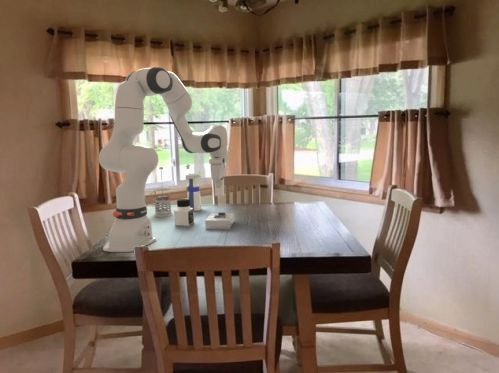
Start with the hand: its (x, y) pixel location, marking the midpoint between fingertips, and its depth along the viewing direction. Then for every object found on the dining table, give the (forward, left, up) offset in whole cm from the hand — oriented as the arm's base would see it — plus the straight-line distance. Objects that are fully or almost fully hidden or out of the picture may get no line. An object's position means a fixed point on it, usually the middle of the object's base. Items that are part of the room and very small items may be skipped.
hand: (219, 186), depth 203 cm
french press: (+6, +32, -16) cm, 36 cm away
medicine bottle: (-13, +15, -16) cm, 25 cm away
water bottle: (+19, +18, -16) cm, 31 cm away
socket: (-15, -3, -16) cm, 22 cm away
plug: (0, 0, -4) cm, 4 cm away
